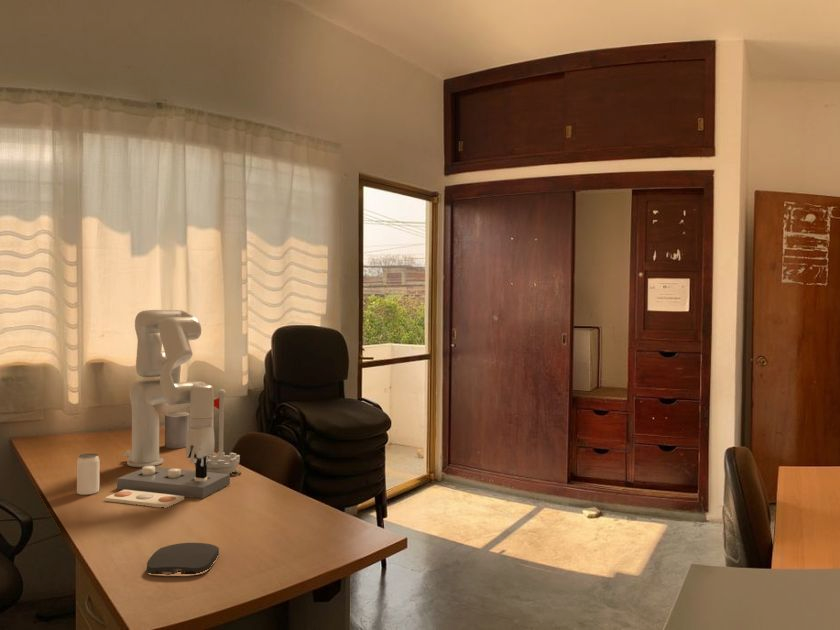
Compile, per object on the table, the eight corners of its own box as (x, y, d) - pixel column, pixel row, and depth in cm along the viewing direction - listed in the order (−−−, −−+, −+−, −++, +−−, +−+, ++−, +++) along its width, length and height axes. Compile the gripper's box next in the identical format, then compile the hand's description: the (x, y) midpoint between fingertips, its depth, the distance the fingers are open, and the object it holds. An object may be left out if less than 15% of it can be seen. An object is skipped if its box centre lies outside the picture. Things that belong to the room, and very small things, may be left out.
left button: (139, 477, 220) (139, 468, 220) (147, 474, 224) (147, 465, 224) (149, 478, 219) (150, 469, 219) (157, 475, 223) (157, 466, 223)
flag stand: (244, 467, 245) (245, 387, 244) (231, 476, 232) (232, 392, 231) (211, 465, 246) (211, 386, 246) (195, 475, 233) (196, 391, 233)
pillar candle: (165, 443, 279) (165, 409, 279) (189, 442, 282) (189, 408, 281) (163, 449, 270) (163, 413, 269) (188, 448, 273) (188, 412, 272)
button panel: (117, 488, 215) (117, 478, 215) (148, 476, 231) (148, 466, 231) (202, 498, 207) (203, 487, 207) (229, 484, 223) (229, 474, 223)
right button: (191, 487, 215) (191, 478, 215) (198, 484, 219) (199, 475, 219) (202, 489, 214) (202, 479, 214) (209, 485, 218) (209, 476, 218)
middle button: (165, 480, 218) (165, 471, 217) (172, 477, 221) (172, 468, 221) (175, 481, 217) (176, 472, 216) (183, 478, 220) (183, 469, 220)
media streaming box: (222, 553, 165) (222, 541, 165) (205, 578, 151) (205, 565, 151) (164, 553, 165) (164, 541, 165) (141, 578, 150) (141, 565, 150)
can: (90, 496, 207) (90, 458, 207) (72, 494, 209) (72, 457, 208) (103, 490, 214) (103, 453, 213) (86, 488, 215) (86, 452, 214)
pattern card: (104, 500, 203) (104, 497, 203) (124, 492, 212) (124, 488, 212) (166, 508, 197) (166, 504, 197) (184, 499, 206) (184, 495, 206)
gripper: (204, 417, 224) (204, 470, 224) (177, 425, 209) (177, 482, 210) (223, 419, 222) (223, 472, 223) (198, 427, 208) (198, 484, 208)
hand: (201, 477), depth 216 cm, fingers closed
